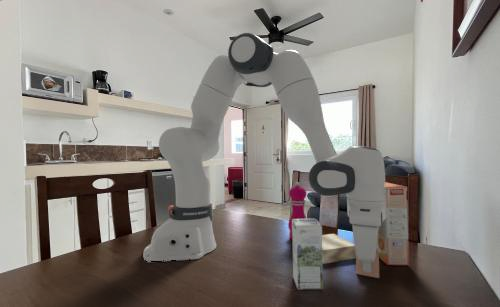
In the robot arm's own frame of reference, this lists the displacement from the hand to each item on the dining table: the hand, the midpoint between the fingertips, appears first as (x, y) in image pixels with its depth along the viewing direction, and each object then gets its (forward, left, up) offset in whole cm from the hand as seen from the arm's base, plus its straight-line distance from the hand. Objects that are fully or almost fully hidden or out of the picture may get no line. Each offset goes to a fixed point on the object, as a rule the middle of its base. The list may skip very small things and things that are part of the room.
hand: (367, 264), depth 61 cm
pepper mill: (-4, +28, -2) cm, 28 cm away
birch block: (-2, +13, -2) cm, 13 cm away
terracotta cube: (0, 0, -2) cm, 2 cm away
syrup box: (-17, 0, -2) cm, 17 cm away
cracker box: (+12, +6, -2) cm, 14 cm away
